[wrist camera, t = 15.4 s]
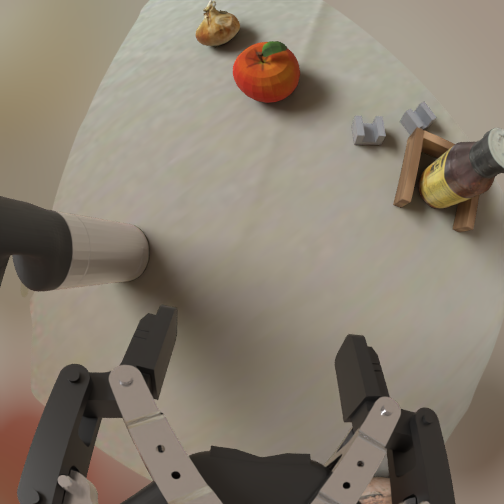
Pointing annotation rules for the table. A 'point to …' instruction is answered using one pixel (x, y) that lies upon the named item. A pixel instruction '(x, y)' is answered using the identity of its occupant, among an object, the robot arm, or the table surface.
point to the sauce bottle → (463, 171)
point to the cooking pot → (377, 492)
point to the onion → (216, 26)
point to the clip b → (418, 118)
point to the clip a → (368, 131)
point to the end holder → (415, 146)
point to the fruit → (266, 71)
